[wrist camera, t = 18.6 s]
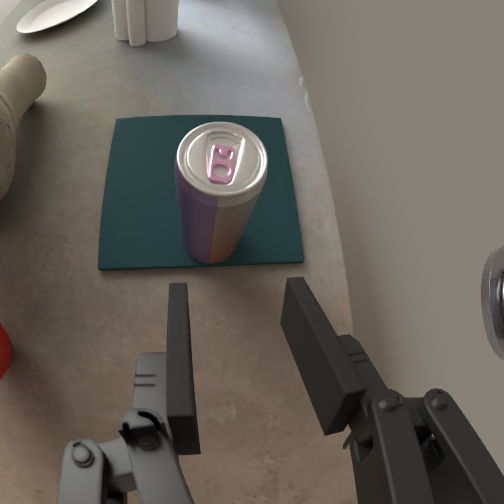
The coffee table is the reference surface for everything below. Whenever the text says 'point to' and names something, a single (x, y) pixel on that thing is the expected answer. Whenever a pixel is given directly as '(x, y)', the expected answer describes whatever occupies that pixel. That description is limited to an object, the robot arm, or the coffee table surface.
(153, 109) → the coffee table surface
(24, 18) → the plate
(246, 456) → the coffee table surface
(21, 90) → the vase
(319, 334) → the robot arm
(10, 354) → the apple
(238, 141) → the beverage can
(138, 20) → the vase
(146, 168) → the mat
